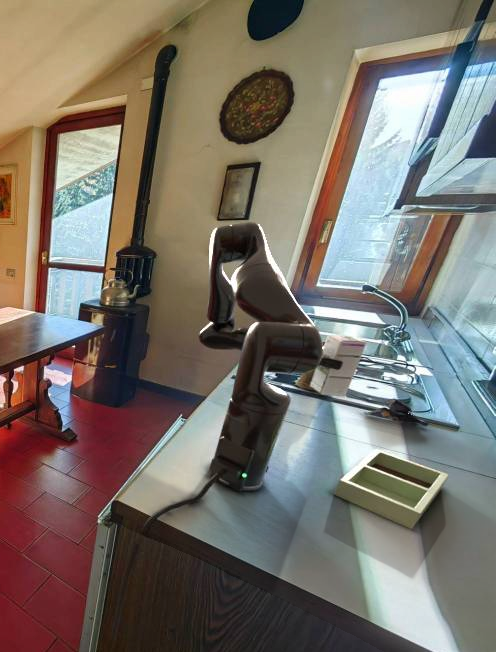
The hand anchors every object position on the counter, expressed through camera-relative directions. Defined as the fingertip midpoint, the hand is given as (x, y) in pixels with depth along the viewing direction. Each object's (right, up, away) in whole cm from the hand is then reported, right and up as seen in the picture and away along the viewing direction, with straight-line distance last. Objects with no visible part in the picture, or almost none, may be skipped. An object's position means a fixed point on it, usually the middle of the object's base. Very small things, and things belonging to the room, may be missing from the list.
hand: (347, 363), depth 97 cm
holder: (-9, -27, -18) cm, 34 cm away
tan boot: (+17, -7, +30) cm, 35 cm away
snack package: (+23, -15, +11) cm, 30 cm away
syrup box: (-1, -7, +5) cm, 9 cm away
